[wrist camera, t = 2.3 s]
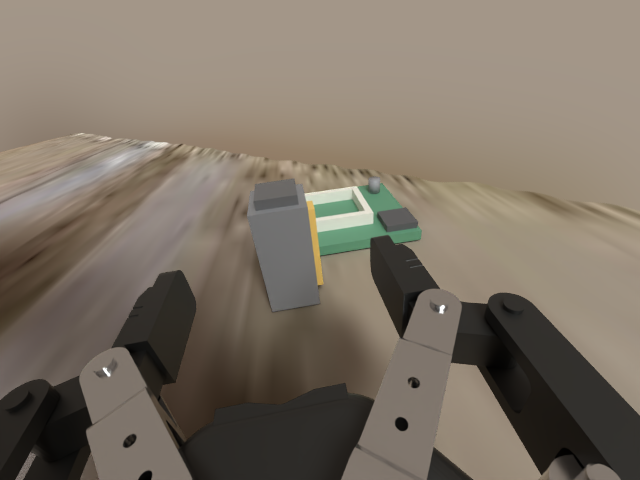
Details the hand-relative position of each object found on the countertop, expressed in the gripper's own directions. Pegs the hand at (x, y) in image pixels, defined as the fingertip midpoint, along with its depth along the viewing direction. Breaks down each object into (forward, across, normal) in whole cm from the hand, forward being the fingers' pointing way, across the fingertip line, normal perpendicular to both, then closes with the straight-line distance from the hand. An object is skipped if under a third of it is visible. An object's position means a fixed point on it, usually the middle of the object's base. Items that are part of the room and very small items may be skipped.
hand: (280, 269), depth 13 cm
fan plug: (+12, 0, +12) cm, 16 cm away
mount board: (+24, -6, +12) cm, 27 cm away
